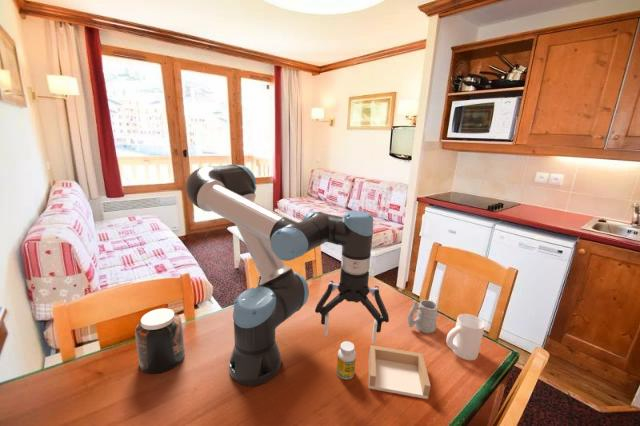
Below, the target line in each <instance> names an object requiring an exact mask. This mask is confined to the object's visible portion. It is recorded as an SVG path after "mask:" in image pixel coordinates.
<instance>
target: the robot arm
mask: <svg viewBox="0 0 640 426" xmlns="http://www.w3.org/2000/svg"><path fill="white" fill-rule="evenodd" d="M256 191H257V179H256V177H255V175H254V173H253V172H252V171H251V170H250V169H249V168H248V167H247V166H245V165H242V164H228V165H218V166H217V165H216V166H215V165H214V166H203V167H200V168H199V167H198V168H197V169H195V170H193V172H192V173H190V175H188V177H187V180H186V182H185V193H186V196H187V198H188V199H189V202H191V203H192V204H193V205H194V206H195V207H197V208H198V209H201V210H202V211H204V212H213V213H215V214H217V215H219V216H221V217H222V218H224V219H225V220H228V221H229V222H231V223H233V224H234V225H236V229H237V230H238V232H239V234H240V236H241V239H242V240H243V242H244V244H245V246H246V249H247V250H248V253H249V255H250V257H251V259H252V262H253V263H254V265H255V267H256V269H257V272H258V273H259V276H260V280H259V286H256V287H250V288H247V289H246V290H244V291H242V292H241V293H239V295H238V296H237V297H236V299H235V300H234V302H233V311H232V320H233V329H234V330H233V335H234V336H233V337H234V345H233V349H232V352H231V354H230V358H229V360H228V368H229V369H228V370H229V374H230V376H231V379H232V380H233V381H235V382H236V383H238V384H240V385H243V386H249V387H251V386H252V387H253V386H259V385H263V384H265V383H267V382H269V381H270V380H272V379H273V378H274V377H275V376H276V375H277V373H278V372H279V370H280V368H281V363H282V362H281V360H282V359H281V358H282V354H281V351H280V350H279V346H278V345H277V342H276V329H277V327H279V326H280V325H281V324H283V323H284V322H285V321H286V320H287V319H289V318H290V317H291V316H292V315H294V314H295V313H297V312H298V311H300V310H302V307H303V306H304V305H305V304H307V302H308V299H309V295H310V290H309V289H310V288H309V286H308V285H309V284H308V282H307V280H306V279H305V277H304V276H303V275H301V274H300V273H298V272H294V271H293V268H292V267H290V266H288V265H286V264H285V263H284V261H285V262H289V261H292V260H295V259H298V258H300V257H302V256H303V255H305V254H307V253H308V252H310V251H312V250H313V249H314V250H315V249H316V248H318V247H319V246H320V247H321V246H322V245H323V244H325V243H330V244H333V245H336V246H341V262H340V274H339V275H340V279H339V283H335V282H334V280H330V281H329V283H328V286H327V288H326V290H325V292H324V294H323V295H322V296H321V298H320V300H319V301H318V302H317V304H316V307H315V310H314V312H315V313H316V314H320V316H321V321H320V322H321V323H320V324H321V325H324V330H323V331H324V332H323V334H324V335H323V336H324V337H328V333H329V319H330V312H331V311H332V310H333V309H334V308H335V307H336V306H338V305H339V304H341V303H342V302H343V301H344V300H346V302H354V303H358V304H359V303H361V304H362V306H364V307H365V308H366V309H367V311H368V312H369V313H370V314H371V316H372V317H373V328H372V336H371V338H372V344H373V345H376V341H377V340H376V339H377V333H381V331H382V325H383V323H384V322H385V323H389V322H390V319H389V313H388V311H387V309H386V306H385V304H384V301H383V300H382V297H381V294H380V288H379V286H378V285H375V286H374V287H369V276H370V271H369V270H370V265H371V255H372V254H371V253H372V244H373V235H374V217H373V216H372V214H371V213H370V212H367V211H364V210H363V211H362V210H349V211H346V212H345V213H344V215H343V216H339V215H335V214H330V213H329V214H328V213H326V212H322V211H313V210H312V211H308V212H307V213H306V215H305V216H303V218H302V220H300V221H299V222H297V221H295V220H293V219H290V218H288V217H285V216H283V215H282V214H280V213H277V212H275V211H273V210H271V209H270V208H268V207H265V206H263V205H261V204H259V203H257V202H255V201H256V197H257V195H256V193H255V192H256ZM336 290H338V292H339V293H338V294H337V295H336V296H335V297H333V298H332V299H331V300H330V301H329V302H328V303H326V302H327V301H328V299H329V298H330V297H331V295H332V293H333V292H335V291H336ZM369 294H371V296H372V297H374V300H375V303H376V304H377V307H378V308H376V306H374V304H373V303H372V301H370V299H369V297H368V295H369ZM325 304H326V305H325ZM324 305H325V306H324ZM378 309H379V311H378Z"/></svg>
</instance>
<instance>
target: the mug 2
mask: <svg viewBox="0 0 640 426" xmlns="http://www.w3.org/2000/svg"><path fill="white" fill-rule="evenodd" d="M485 324H486V323H484V321H483V320H482V319H481V318H479V317H477V316H475V315H473V314H470V313H460V314H459V315H458V316H457V319H456V324H455V327H453V328H451V330H449V332H448V333H447V336H446V341H445V342H446V345H447V346H448V348H450V349H451V351H452V352H453V353H454V354H455V355H456V357H458V358H460V359H463V360H466V361H475V360H476V359H477V358H478V357H479V352H480V348H481V343H482V339H483V336H484V331H485V326H486V325H485Z"/></svg>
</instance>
